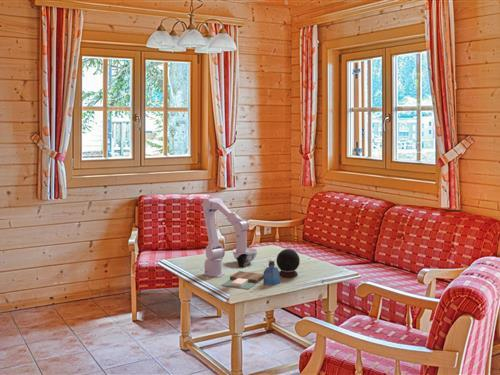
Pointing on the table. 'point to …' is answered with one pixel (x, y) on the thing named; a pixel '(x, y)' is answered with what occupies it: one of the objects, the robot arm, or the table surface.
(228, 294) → the table surface
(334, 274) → the table surface
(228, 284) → the mat
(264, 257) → the table surface
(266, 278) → the perfume bottle
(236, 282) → the tile
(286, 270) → the black ball on stand
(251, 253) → the chinaware
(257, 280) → the deck
